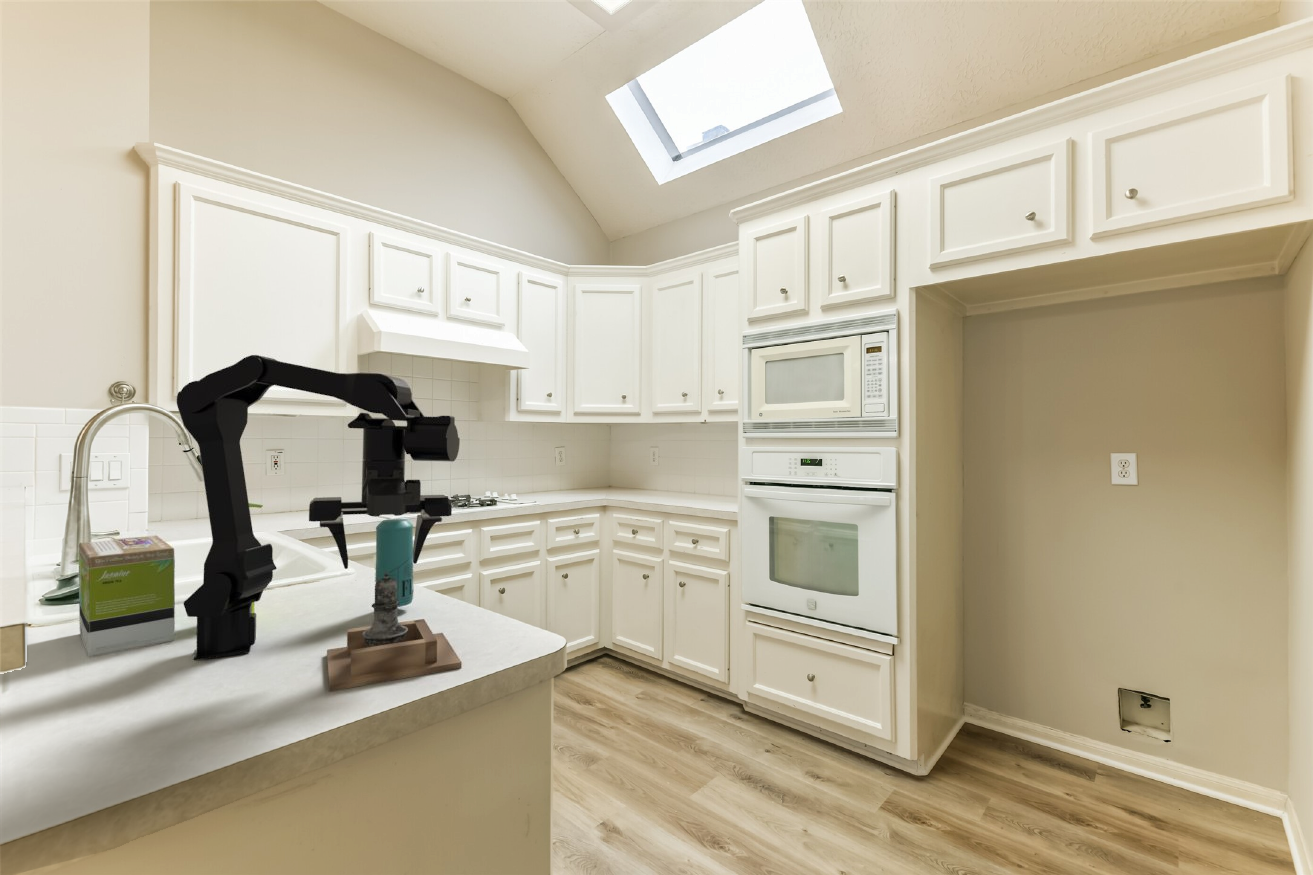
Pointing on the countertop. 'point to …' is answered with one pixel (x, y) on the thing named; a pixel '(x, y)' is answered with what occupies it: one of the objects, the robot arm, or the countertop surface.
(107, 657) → the countertop surface
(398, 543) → the beverage bottle
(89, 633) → the tea box
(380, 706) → the countertop surface
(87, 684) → the countertop surface
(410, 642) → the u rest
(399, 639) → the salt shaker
